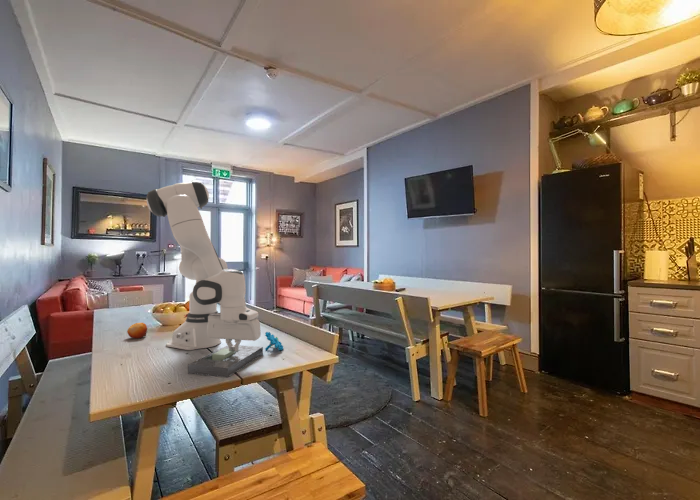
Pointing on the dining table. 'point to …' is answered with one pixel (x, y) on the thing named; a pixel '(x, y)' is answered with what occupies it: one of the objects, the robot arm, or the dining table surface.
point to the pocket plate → (225, 362)
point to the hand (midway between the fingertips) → (233, 351)
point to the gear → (273, 341)
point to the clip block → (222, 354)
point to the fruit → (137, 330)
